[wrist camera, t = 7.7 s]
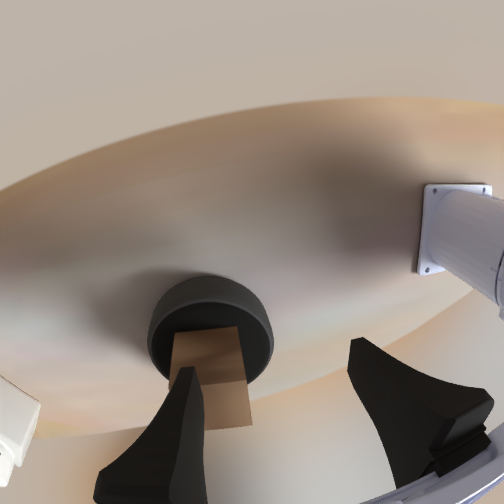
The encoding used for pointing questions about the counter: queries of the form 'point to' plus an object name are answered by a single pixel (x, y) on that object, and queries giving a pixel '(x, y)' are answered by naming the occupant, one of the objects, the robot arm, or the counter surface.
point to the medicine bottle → (15, 427)
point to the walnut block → (215, 374)
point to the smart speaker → (211, 321)
